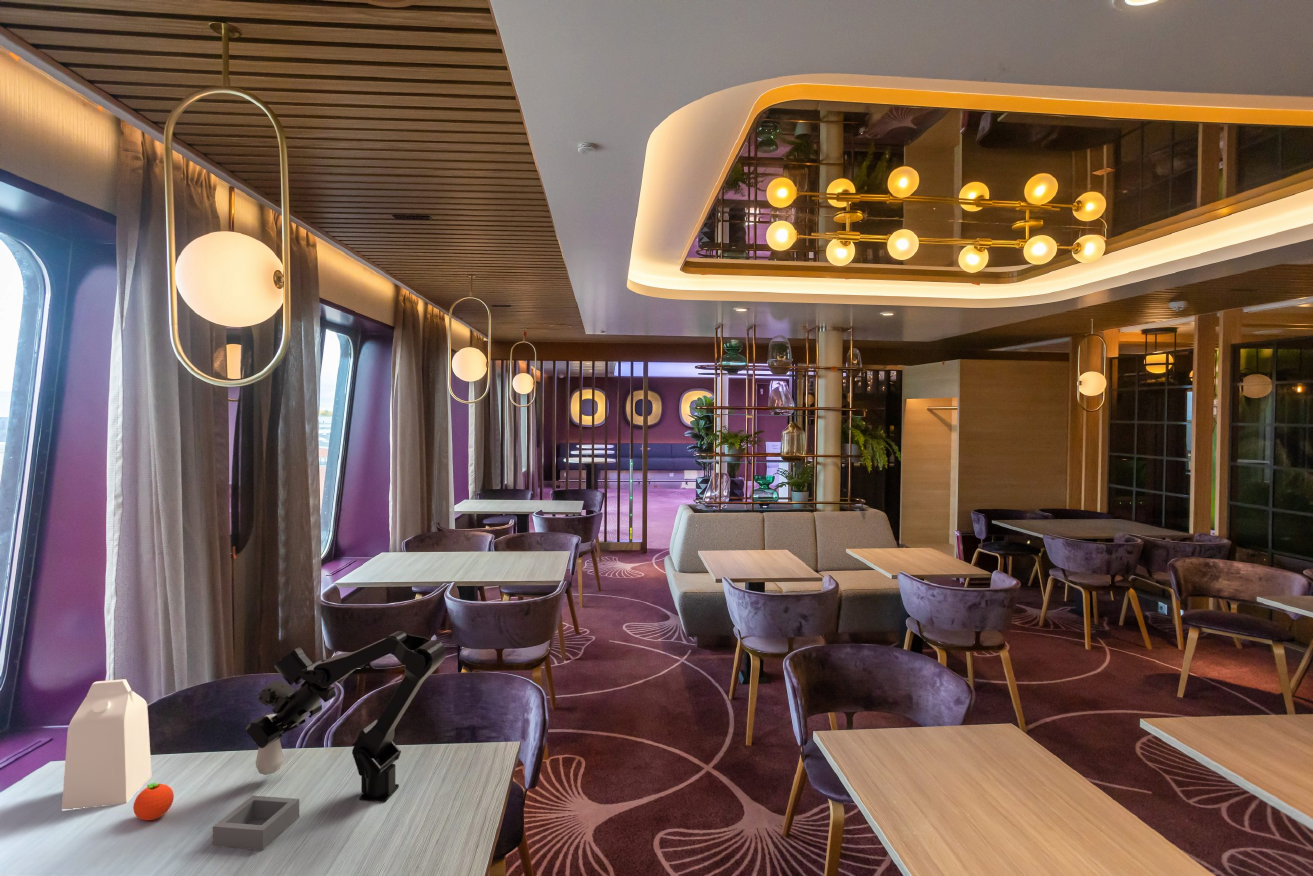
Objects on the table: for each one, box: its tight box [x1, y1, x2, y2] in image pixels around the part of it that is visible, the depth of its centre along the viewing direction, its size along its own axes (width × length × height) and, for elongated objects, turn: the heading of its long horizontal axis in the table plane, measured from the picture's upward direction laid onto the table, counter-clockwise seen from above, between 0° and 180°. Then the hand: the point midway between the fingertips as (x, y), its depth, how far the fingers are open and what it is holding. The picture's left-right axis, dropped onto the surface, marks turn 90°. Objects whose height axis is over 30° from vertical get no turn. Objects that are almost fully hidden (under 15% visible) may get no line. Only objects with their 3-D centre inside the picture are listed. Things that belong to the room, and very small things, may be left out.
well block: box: [212, 795, 300, 851], centre depth 133 cm, size 11×11×4 cm
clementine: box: [132, 782, 175, 821], centre depth 138 cm, size 8×7×7 cm
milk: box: [61, 678, 153, 810], centre depth 146 cm, size 12×12×26 cm
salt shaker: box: [255, 713, 285, 776], centre depth 152 cm, size 6×6×13 cm
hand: (264, 740), depth 152 cm, fingers closed on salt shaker, 3 cm apart
